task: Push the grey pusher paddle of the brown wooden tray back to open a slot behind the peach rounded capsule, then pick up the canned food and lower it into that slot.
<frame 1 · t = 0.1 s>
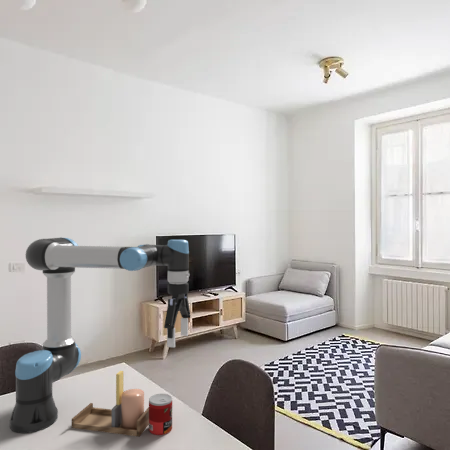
hand: (178, 341, 136), 28 cm above the table, fingers open, 13 cm apart
canned food: (160, 431, 128), on the table
pusher: (119, 397, 131), point 10 cm above the table, slide at 0.0 cm
brown wooden tray: (113, 424, 131), on the table
peach rounded capsule: (132, 425, 130), point 1 cm above the table, touching brown wooden tray
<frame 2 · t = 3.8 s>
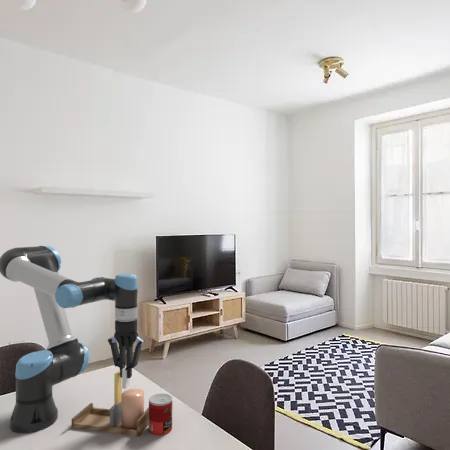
hand: (125, 386, 130), 14 cm above the table, fingers closed
pusher: (118, 397, 131), point 10 cm above the table, slide at 0.7 cm, touching gripper
everything else where it was.
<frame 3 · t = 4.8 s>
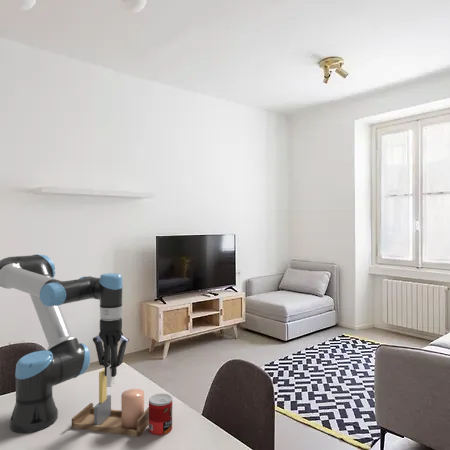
hand: (110, 385, 132), 14 cm above the table, fingers closed
pusher: (102, 395, 132), point 10 cm above the table, slide at 6.5 cm, touching gripper
everything else where it was.
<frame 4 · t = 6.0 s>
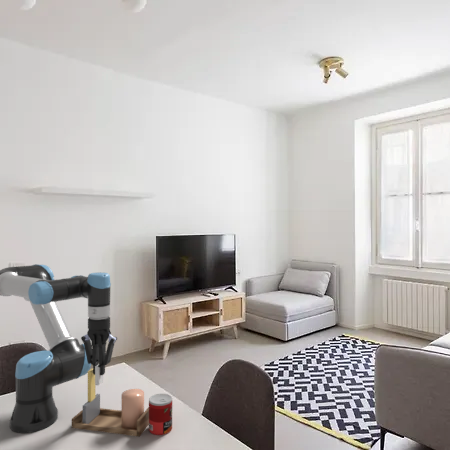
hand: (99, 383, 132), 14 cm above the table, fingers closed
pusher: (91, 394, 133), point 10 cm above the table, slide at 10.9 cm, touching gripper
everything else where it was.
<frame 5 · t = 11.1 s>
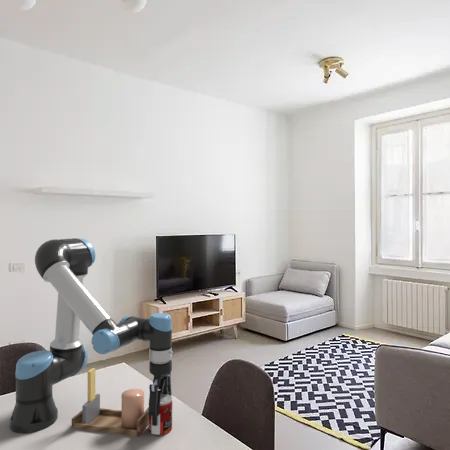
hand: (160, 427, 128), 1 cm above the table, fingers closed on canned food, 8 cm apart
canned food: (160, 431, 128), on the table, touching gripper
pusher: (91, 394, 133), point 10 cm above the table, slide at 10.9 cm
everything else where it was.
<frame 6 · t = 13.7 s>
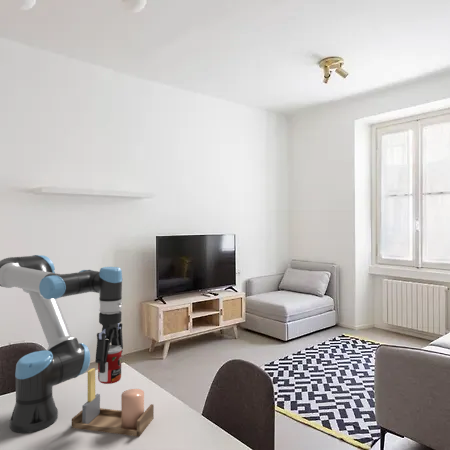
hand: (109, 376, 132), 17 cm above the table, fingers closed on canned food, 8 cm apart
canned food: (109, 380, 132), point 15 cm above the table, touching gripper
everything else where it was.
when the fingers open (4 cm above the table, at t = 16.7 s): canned food drops 2 cm, resting on brown wooden tray.
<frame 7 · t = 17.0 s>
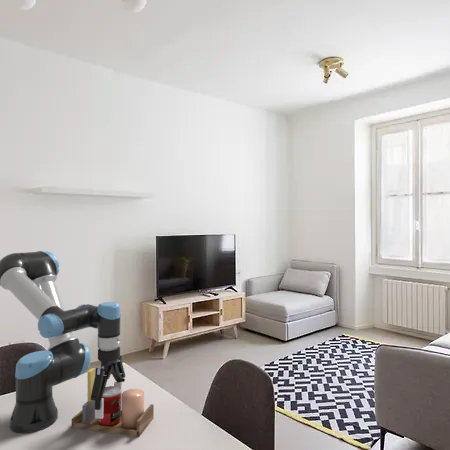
hand: (109, 408, 132), 5 cm above the table, fingers open, 12 cm apart
canned food: (109, 422, 132), resting on brown wooden tray
everything else where it was.
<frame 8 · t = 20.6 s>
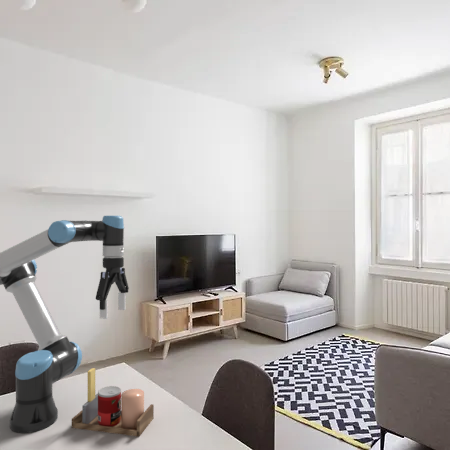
hand: (113, 313, 140), 37 cm above the table, fingers open, 13 cm apart
nothing on the table moved.
at the end: canned food 0.5 cm from the target spot, resting on brown wooden tray; canned food tilted 0°; pusher slide at 10.9 cm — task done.
